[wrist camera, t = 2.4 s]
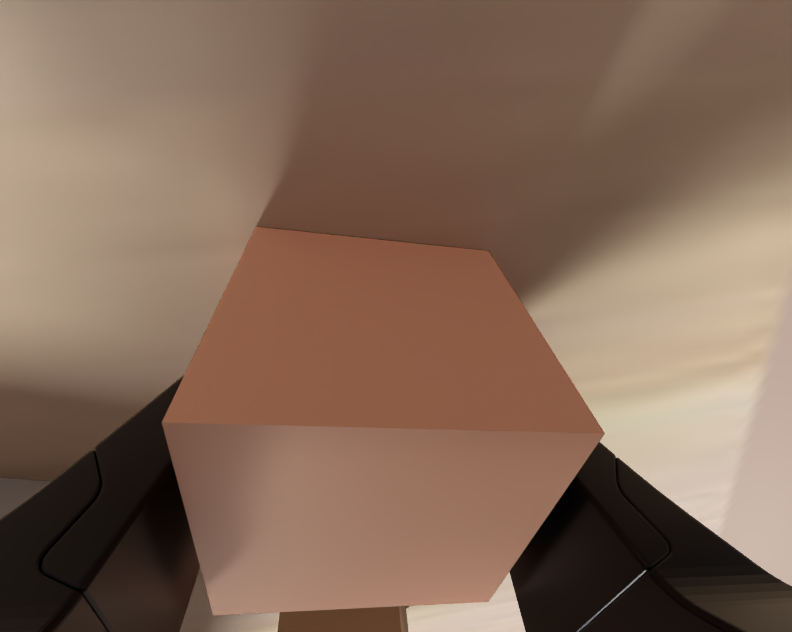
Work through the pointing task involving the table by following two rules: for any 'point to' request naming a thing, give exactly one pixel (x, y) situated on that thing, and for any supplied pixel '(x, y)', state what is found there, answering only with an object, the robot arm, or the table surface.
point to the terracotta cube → (369, 427)
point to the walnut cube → (345, 620)
